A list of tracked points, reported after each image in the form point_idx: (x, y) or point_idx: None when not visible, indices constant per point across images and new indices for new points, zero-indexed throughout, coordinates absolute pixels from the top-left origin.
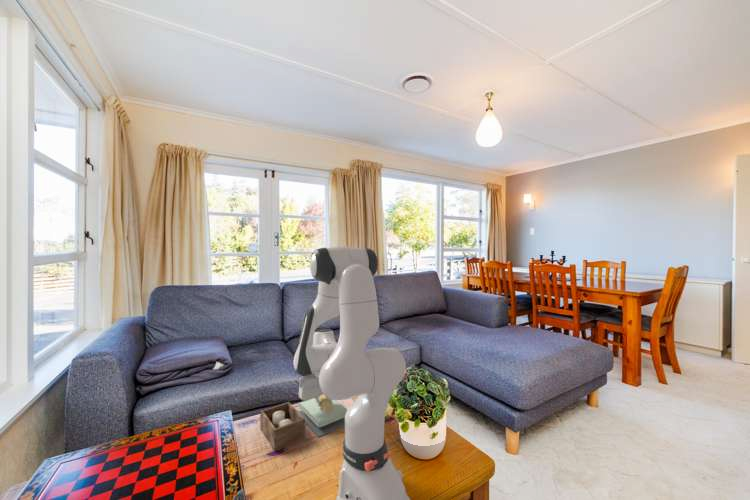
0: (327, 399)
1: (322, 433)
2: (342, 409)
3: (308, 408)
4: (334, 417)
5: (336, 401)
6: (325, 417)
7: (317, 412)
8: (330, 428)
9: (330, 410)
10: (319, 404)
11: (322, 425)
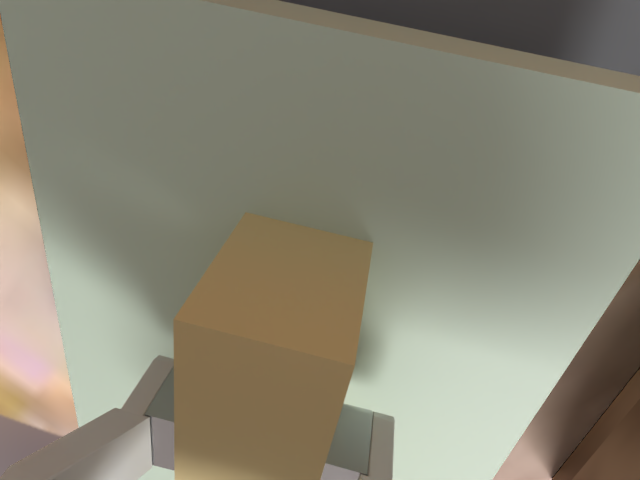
0: (219, 428)
1: (609, 14)
2: (86, 82)
3: (458, 473)
4: (344, 22)
5: (70, 319)
6: (506, 133)
7: (459, 342)
8: (433, 21)
9: (281, 223)
10: (373, 435)
11: (602, 73)
